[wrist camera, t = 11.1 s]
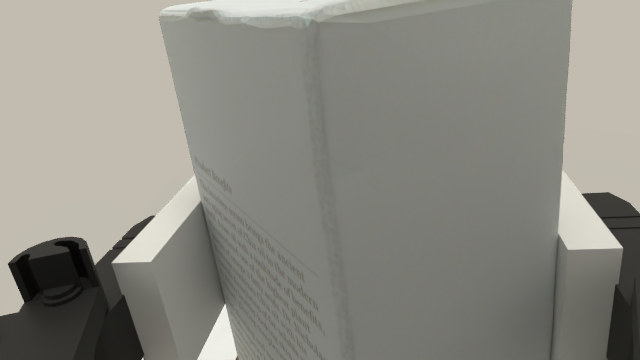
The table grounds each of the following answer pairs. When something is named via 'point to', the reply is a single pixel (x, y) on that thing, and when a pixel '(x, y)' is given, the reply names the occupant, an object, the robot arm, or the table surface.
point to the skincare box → (378, 171)
